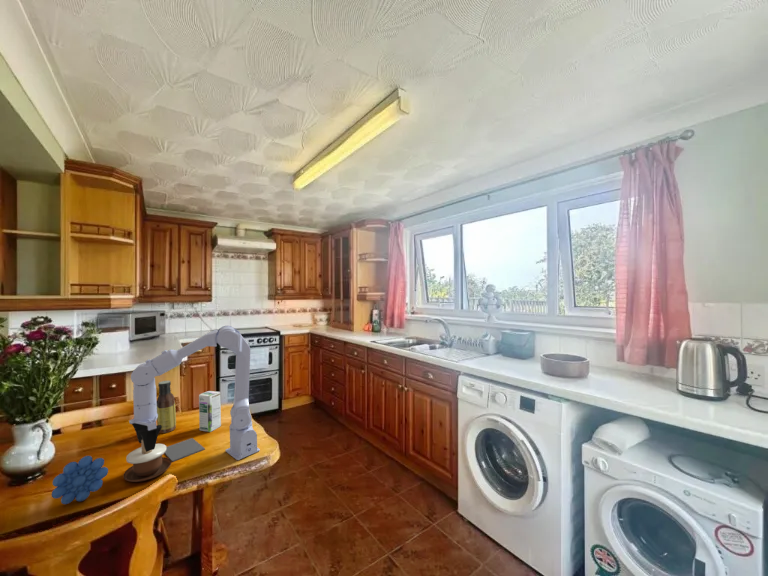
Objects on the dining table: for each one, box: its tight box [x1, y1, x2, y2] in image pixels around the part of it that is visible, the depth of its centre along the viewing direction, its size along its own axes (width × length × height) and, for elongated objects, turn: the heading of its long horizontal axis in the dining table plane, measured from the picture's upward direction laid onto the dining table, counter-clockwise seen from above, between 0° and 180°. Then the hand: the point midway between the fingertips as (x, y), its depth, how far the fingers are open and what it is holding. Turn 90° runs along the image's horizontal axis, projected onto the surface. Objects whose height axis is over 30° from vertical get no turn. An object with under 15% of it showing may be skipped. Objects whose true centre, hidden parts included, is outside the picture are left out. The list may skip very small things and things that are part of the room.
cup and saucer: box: [123, 455, 172, 483], centre depth 99 cm, size 12×12×6 cm
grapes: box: [51, 455, 109, 505], centre depth 88 cm, size 12×7×12 cm, turn 119°
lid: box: [125, 439, 167, 465], centre depth 99 cm, size 10×10×5 cm
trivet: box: [164, 437, 206, 463], centre depth 113 cm, size 12×10×1 cm
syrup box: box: [198, 390, 222, 433], centre depth 129 cm, size 6×6×14 cm
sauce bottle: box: [156, 380, 177, 434], centre depth 128 cm, size 6×6×20 cm
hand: (146, 445), depth 99 cm, fingers open, 7 cm apart
